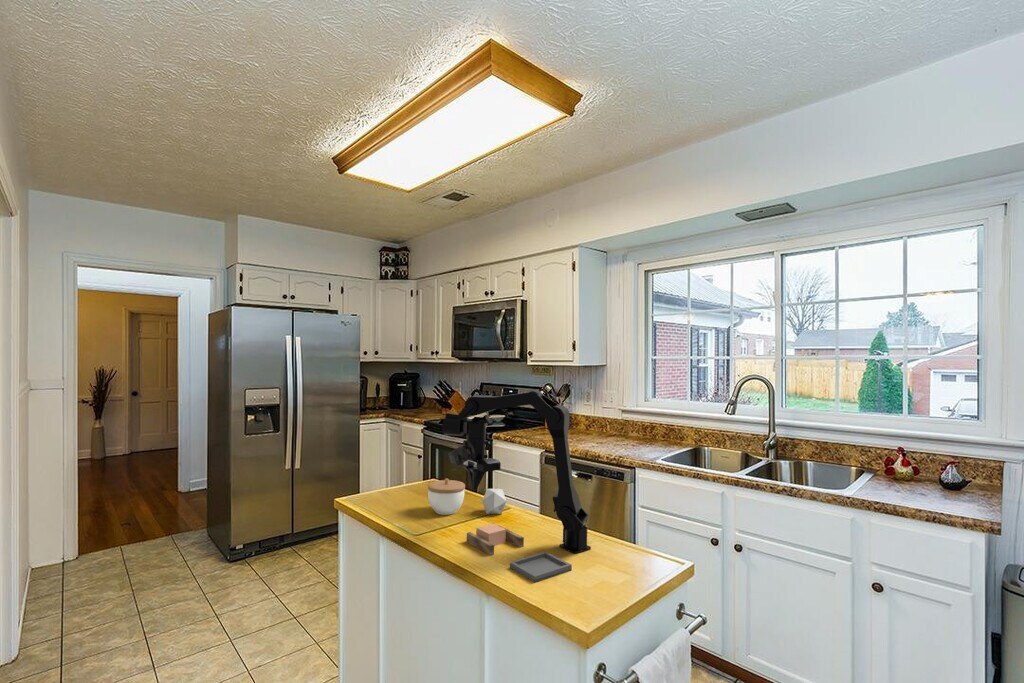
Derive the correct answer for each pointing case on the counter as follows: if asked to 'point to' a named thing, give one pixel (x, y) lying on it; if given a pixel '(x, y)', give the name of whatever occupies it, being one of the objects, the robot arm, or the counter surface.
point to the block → (492, 534)
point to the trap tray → (540, 566)
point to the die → (494, 501)
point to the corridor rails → (489, 547)
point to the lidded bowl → (446, 496)
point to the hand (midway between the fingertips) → (474, 489)
